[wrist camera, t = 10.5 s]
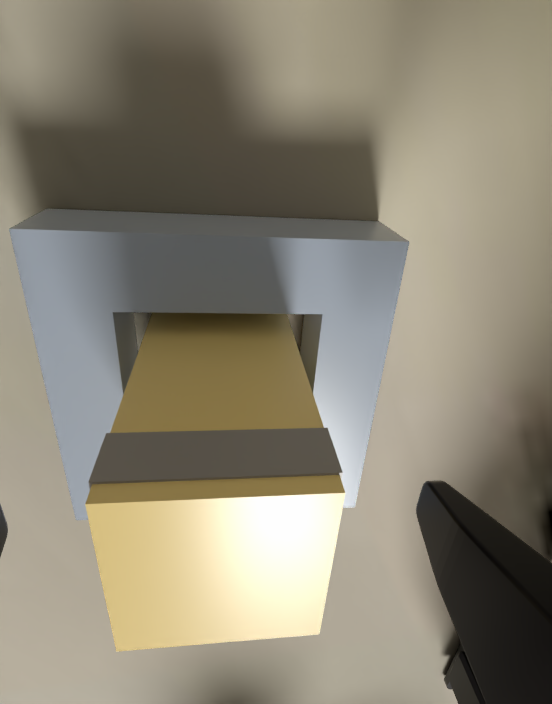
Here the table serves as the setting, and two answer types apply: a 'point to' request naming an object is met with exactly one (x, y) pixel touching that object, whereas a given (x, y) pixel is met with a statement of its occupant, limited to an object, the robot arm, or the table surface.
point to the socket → (204, 309)
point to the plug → (215, 488)
